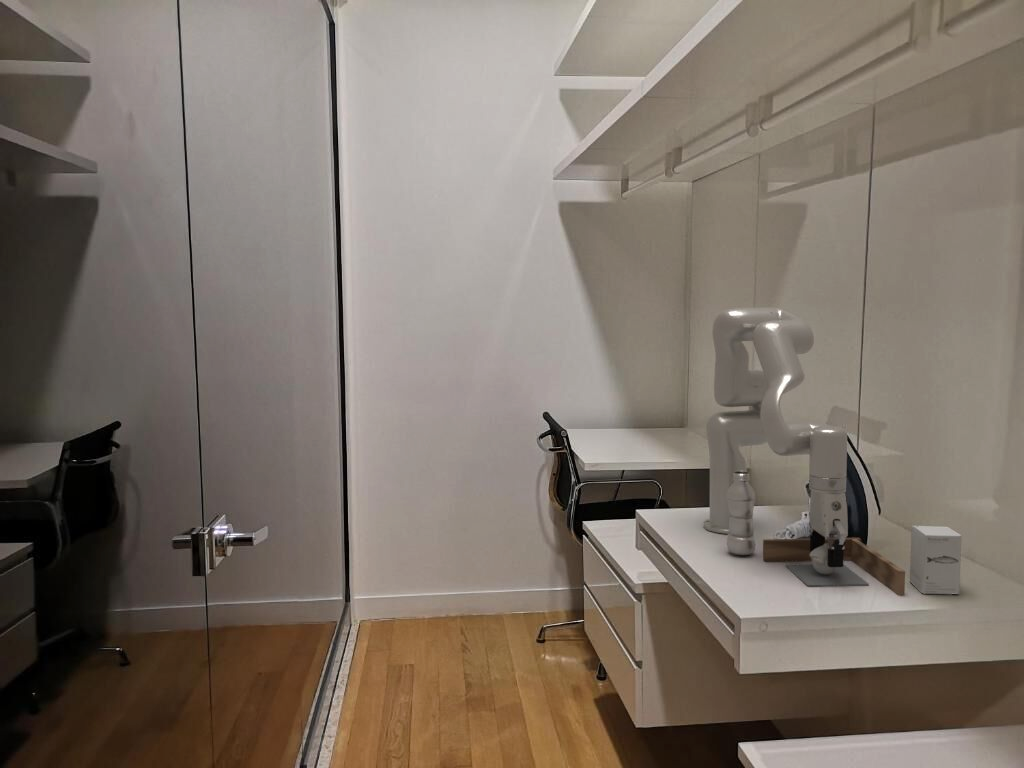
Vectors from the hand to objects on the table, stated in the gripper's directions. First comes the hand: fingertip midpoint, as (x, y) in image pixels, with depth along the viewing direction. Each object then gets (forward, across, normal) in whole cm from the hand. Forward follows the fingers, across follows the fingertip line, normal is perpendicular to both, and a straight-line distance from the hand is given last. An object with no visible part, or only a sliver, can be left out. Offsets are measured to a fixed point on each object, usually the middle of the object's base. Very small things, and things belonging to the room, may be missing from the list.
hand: (826, 559), depth 170 cm
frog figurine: (+4, 0, 0) cm, 4 cm away
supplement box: (+4, -9, -19) cm, 21 cm away
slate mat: (+4, 0, 0) cm, 4 cm away
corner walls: (+4, -1, -1) cm, 4 cm away
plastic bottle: (+4, +16, +14) cm, 22 cm away
